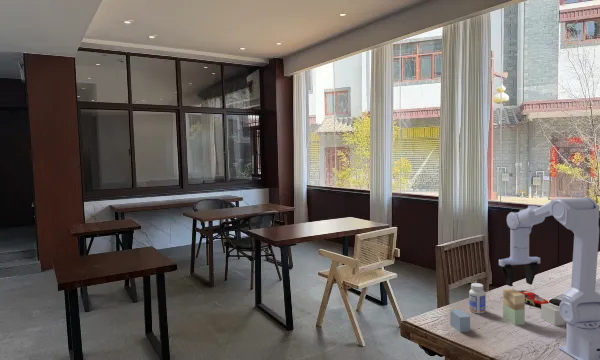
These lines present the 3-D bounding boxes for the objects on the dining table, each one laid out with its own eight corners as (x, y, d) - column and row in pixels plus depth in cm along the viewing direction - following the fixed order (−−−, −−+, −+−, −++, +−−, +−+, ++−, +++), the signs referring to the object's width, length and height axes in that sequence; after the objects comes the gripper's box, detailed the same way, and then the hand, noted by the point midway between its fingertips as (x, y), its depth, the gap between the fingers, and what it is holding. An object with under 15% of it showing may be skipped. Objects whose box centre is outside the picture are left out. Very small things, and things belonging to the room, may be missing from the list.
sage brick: (524, 324, 130) (524, 309, 130) (514, 325, 130) (514, 310, 130) (512, 316, 136) (512, 302, 136) (503, 317, 136) (503, 303, 136)
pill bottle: (484, 308, 144) (484, 282, 143) (486, 314, 139) (486, 287, 138) (468, 307, 145) (468, 281, 145) (470, 313, 140) (470, 286, 140)
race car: (552, 307, 144) (552, 297, 143) (543, 311, 141) (544, 300, 141) (517, 296, 155) (517, 286, 155) (508, 299, 152) (508, 289, 152)
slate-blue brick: (470, 331, 127) (470, 316, 126) (460, 332, 126) (459, 317, 126) (460, 323, 133) (460, 309, 132) (450, 324, 132) (450, 310, 132)
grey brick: (564, 324, 129) (564, 310, 129) (554, 325, 129) (554, 311, 128) (550, 317, 135) (550, 303, 135) (541, 318, 135) (541, 304, 134)
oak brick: (524, 309, 130) (524, 294, 130) (514, 310, 130) (514, 295, 129) (512, 302, 136) (512, 288, 136) (503, 303, 136) (503, 289, 135)
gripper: (530, 242, 142) (529, 279, 143) (493, 245, 140) (493, 282, 141) (545, 247, 135) (544, 285, 136) (506, 250, 133) (506, 289, 134)
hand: (519, 284), depth 138 cm, fingers open, 7 cm apart
